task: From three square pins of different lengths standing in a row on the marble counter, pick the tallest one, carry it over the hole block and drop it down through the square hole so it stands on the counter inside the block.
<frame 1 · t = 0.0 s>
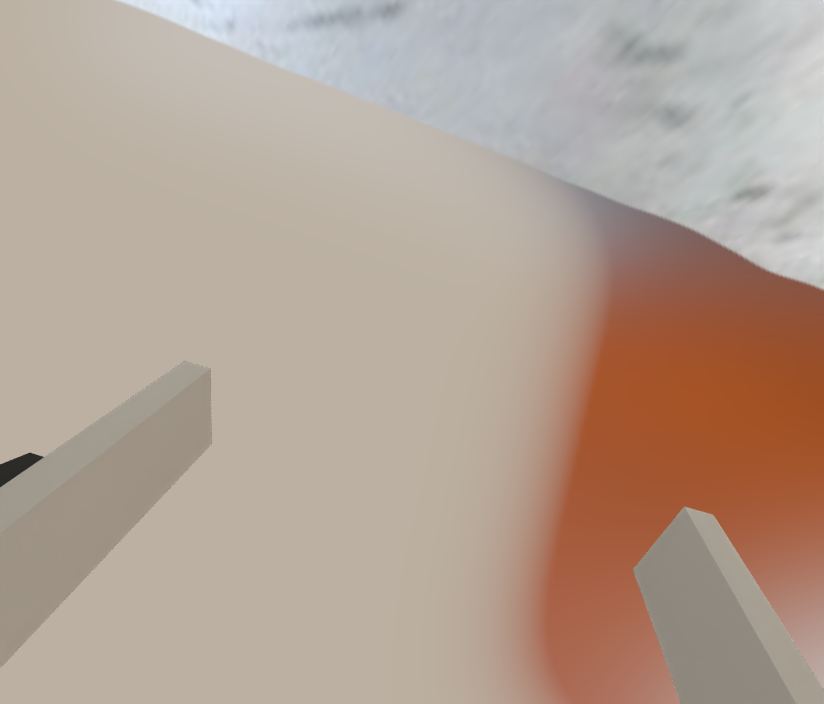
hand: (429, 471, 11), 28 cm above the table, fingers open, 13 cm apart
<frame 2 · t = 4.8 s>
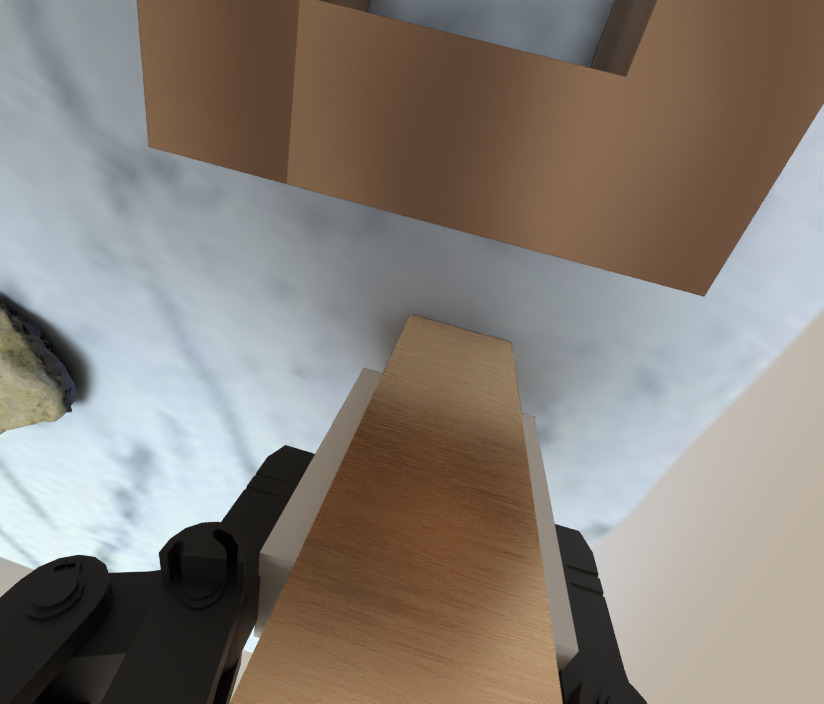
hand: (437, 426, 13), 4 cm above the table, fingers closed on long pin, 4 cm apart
long pin: (446, 371, 16), on the table, touching gripper
when the fingers open (7 cm above the table, at t = 9.5 s): long pin drops 3 cm, resting in hole block.
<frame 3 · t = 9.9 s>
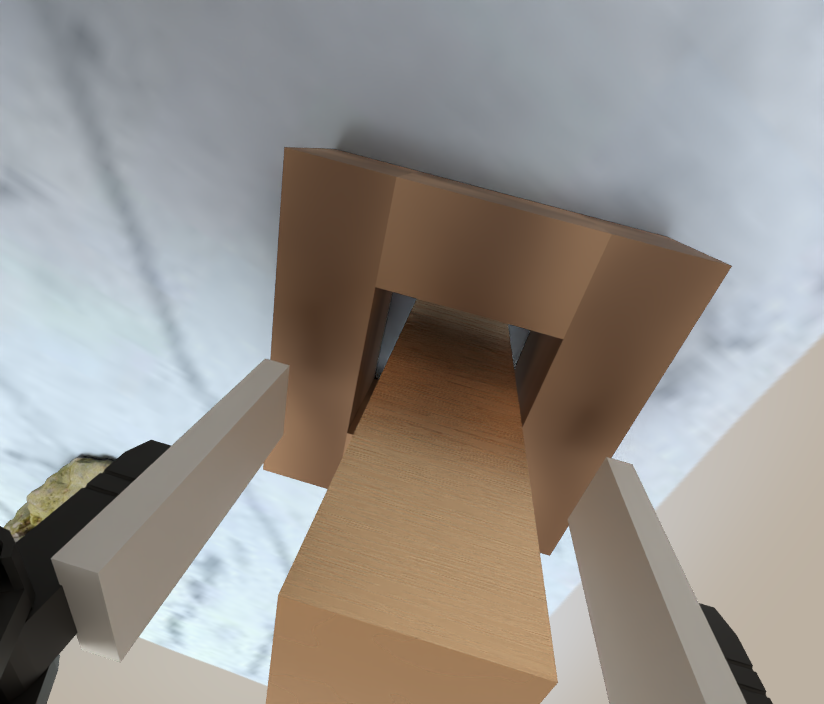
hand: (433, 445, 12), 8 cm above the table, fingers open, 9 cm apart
rock: (119, 502, 29), on the table
hole block: (451, 341, 19), on the table
long pin: (451, 341, 19), resting in hole block
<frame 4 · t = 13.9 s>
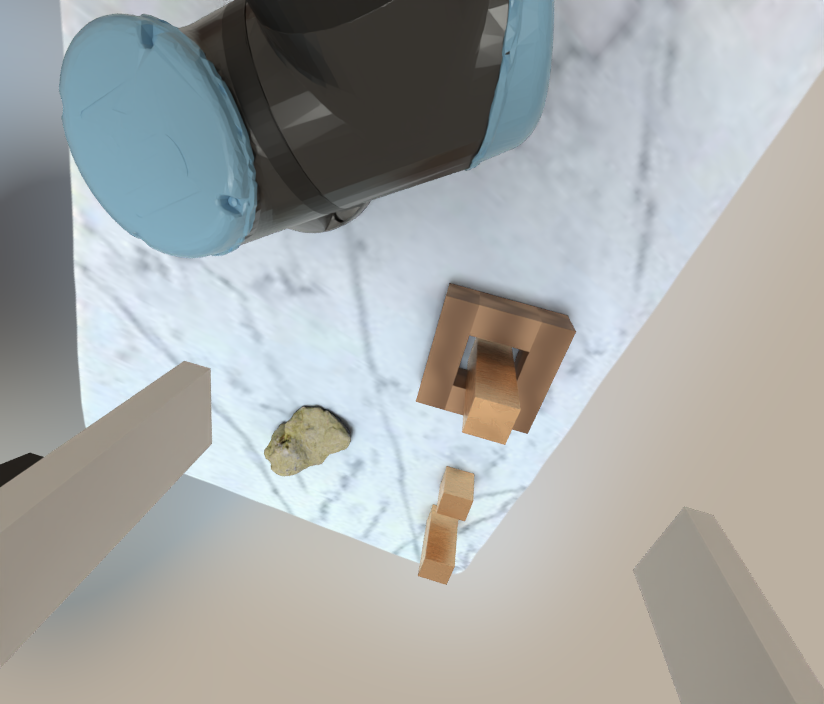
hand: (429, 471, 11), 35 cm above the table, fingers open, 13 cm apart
rock: (315, 431, 58), on the table
hole block: (489, 351, 47), on the table
short pin: (456, 479, 57), on the table
medium pin: (442, 516, 61), on the table
long pin: (488, 351, 47), resting in hole block
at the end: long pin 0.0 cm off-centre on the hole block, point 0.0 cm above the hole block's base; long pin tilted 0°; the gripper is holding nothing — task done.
